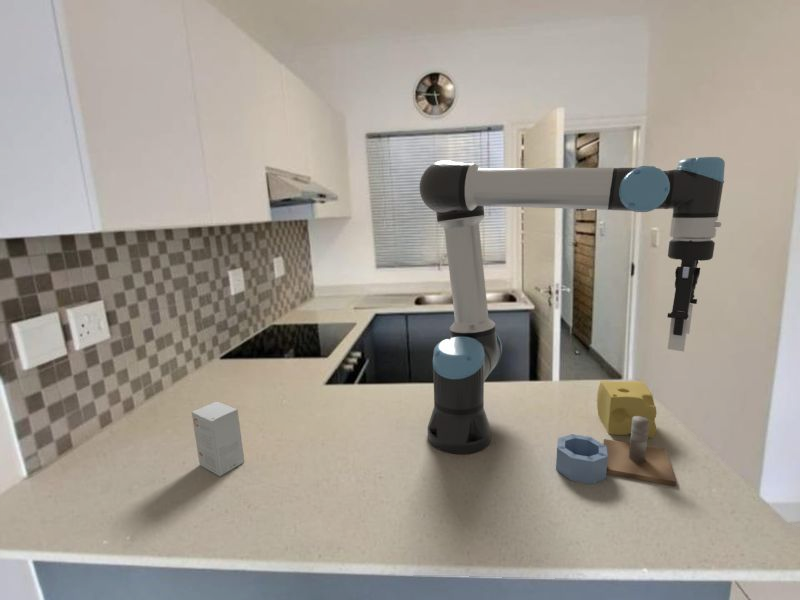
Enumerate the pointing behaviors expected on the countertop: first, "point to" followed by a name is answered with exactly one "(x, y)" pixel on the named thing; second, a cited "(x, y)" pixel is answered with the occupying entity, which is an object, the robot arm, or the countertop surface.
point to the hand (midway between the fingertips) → (678, 340)
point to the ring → (581, 458)
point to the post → (639, 457)
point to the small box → (218, 437)
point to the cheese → (625, 406)
